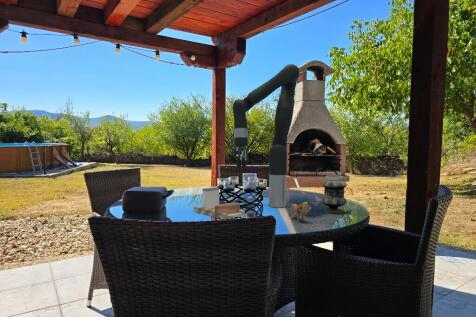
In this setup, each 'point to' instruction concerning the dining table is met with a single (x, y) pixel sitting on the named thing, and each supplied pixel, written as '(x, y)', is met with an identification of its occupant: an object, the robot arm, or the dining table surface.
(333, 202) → the apothecary jar
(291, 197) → the dining table surface
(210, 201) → the pale grey rectangular block
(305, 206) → the lion figurine
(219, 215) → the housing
